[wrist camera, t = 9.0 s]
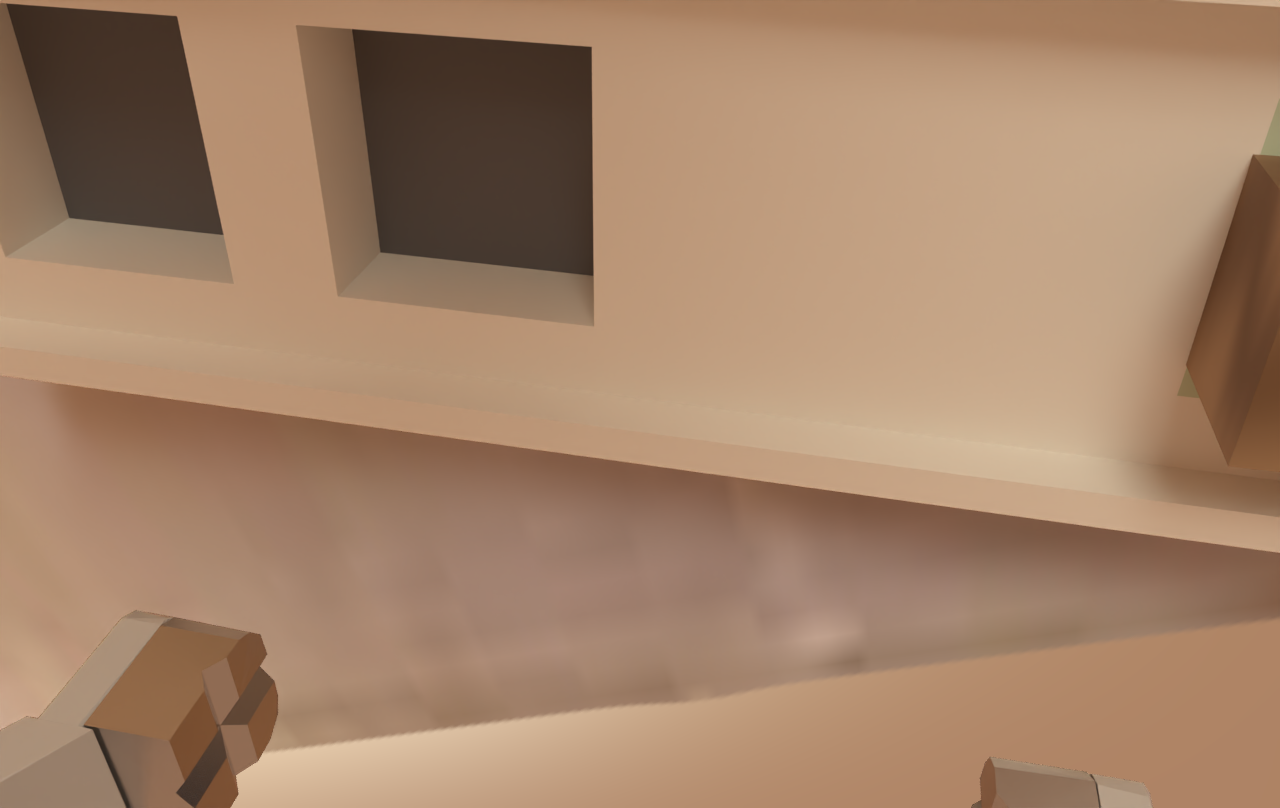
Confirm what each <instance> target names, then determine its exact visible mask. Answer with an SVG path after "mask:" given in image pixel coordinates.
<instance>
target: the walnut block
mask: <svg viewBox="0 0 1280 808" xmlns="http://www.w3.org/2000/svg"><path fill="white" fill-rule="evenodd" d="M1186 367H1187V369H1188V371H1189V374H1190V376H1191V379H1192V381H1193V383H1194V386H1195V388H1196V391H1197V393H1198V395H1199V398H1200V400H1201V403H1202V405H1203V407H1204V410H1205V412H1206V415H1207V417H1208V419H1209V422H1210V424H1211V427H1212V429H1213V431H1214V434H1215V436H1216V439H1217V441H1218V443H1219V446H1220V448H1221V451H1222V453H1223V455H1224V458H1225V460H1226V463H1227V465H1228V466H1229V467H1237V468H1246V469H1255V470H1264V471H1273V472H1280V156H1271V155H1255V154H1253V156H1252V159H1251V162H1250V166H1249V169H1248V172H1247V175H1246V178H1245V181H1244V184H1243V188H1242V191H1241V194H1240V197H1239V200H1238V203H1237V206H1236V209H1235V213H1234V216H1233V219H1232V222H1231V225H1230V228H1229V231H1228V235H1227V238H1226V241H1225V244H1224V247H1223V250H1222V253H1221V256H1220V260H1219V263H1218V266H1217V269H1216V272H1215V275H1214V278H1213V281H1212V285H1211V288H1210V291H1209V294H1208V297H1207V300H1206V303H1205V307H1204V310H1203V313H1202V316H1201V319H1200V322H1199V325H1198V328H1197V332H1196V335H1195V338H1194V341H1193V344H1192V347H1191V350H1190V354H1189V357H1188V360H1187V363H1186Z"/></svg>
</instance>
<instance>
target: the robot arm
mask: <svg viewBox="0 0 1280 808" xmlns="http://www.w3.org/2000/svg"><path fill="white" fill-rule="evenodd" d="M266 655H267V653H266V650H265V647H264V644H263V641H262V638H261V635H260V634H255V633H251V632H246V631H241V630H236V629H231V628H226V627H221V626H216V625H211V624H206V623H201V622H196V621H191V620H186V619H181V618H176V617H170V616H165V615H159V614H154V613H148V612H143V611H137V610H135V611H133V612H132V613H130V614H128V615H126V616H125V617H123V618H121V619H120V620H119V621H118V623H117V624H116V625H115V626H114V627H113V629H112V630H111V631H110V632H109V633H108V635H107V636H106V637H105V638H104V639H103V641H102V642H101V643H100V644H99V646H98V647H97V648H96V649H95V650H94V652H93V653H92V654H91V655H90V656H89V658H88V659H87V660H86V661H85V662H84V664H83V665H82V666H81V667H80V668H79V670H78V671H77V672H76V673H75V674H74V676H73V677H72V678H71V679H70V680H69V682H68V683H67V684H66V685H65V686H64V688H63V689H62V690H61V691H60V692H59V694H58V695H57V696H56V697H55V698H54V700H53V701H52V702H51V703H50V704H49V706H48V707H47V708H46V709H45V710H44V712H43V713H42V714H41V715H40V716H39V718H34V717H28V716H26V717H24V718H22V719H21V720H19V721H17V722H15V723H13V724H11V725H9V726H7V727H5V728H3V729H2V730H0V808H230V807H231V806H232V804H233V802H234V801H235V799H236V797H237V796H238V788H237V782H236V775H237V774H238V773H240V772H241V771H243V770H245V769H246V768H248V767H249V766H251V765H252V764H254V763H256V762H257V761H258V760H259V758H260V757H261V755H262V753H263V751H264V750H265V748H266V746H267V744H268V743H269V741H270V739H271V735H272V732H273V728H274V725H275V722H276V718H277V715H278V694H277V690H276V686H275V682H274V680H273V679H272V678H271V677H270V676H269V675H268V674H267V673H266V672H265V671H264V670H263V669H262V668H261V667H260V665H261V663H262V662H263V660H264V659H265V657H266ZM980 786H981V800H980V801H978V802H977V803H975V804H973V805H972V807H971V808H1153V805H1152V800H1151V796H1150V792H1149V791H1148V789H1147V788H1146V786H1145V785H1144V784H1143V783H1142V782H1137V781H1131V780H1125V779H1119V778H1113V777H1107V776H1101V775H1095V774H1088V773H1087V772H1084V771H1078V770H1071V769H1064V768H1059V767H1052V766H1046V765H1039V764H1033V763H1027V762H1020V761H1013V760H1007V759H1001V758H995V757H989V759H988V760H987V761H986V762H985V765H984V768H983V771H982V774H981V777H980Z"/></svg>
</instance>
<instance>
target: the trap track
mask: <svg viewBox="0 0 1280 808" xmlns="http://www.w3.org/2000/svg"><path fill="white" fill-rule="evenodd" d="M1253 154H1255V155H1271V156H1280V0H0V376H8V377H15V378H22V379H29V380H36V381H44V382H51V383H58V384H65V385H72V386H80V387H87V388H94V389H101V390H109V391H116V392H123V393H130V394H137V395H145V396H152V397H159V398H166V399H173V400H181V401H188V402H195V403H202V404H210V405H217V406H224V407H231V408H238V409H246V410H253V411H260V412H267V413H274V414H282V415H289V416H296V417H303V418H311V419H318V420H325V421H332V422H339V423H347V424H354V425H361V426H368V427H375V428H383V429H390V430H397V431H404V432H412V433H419V434H426V435H433V436H440V437H448V438H455V439H462V440H469V441H476V442H484V443H491V444H498V445H505V446H513V447H520V448H527V449H534V450H541V451H549V452H556V453H563V454H570V455H578V456H585V457H592V458H599V459H606V460H614V461H621V462H628V463H635V464H642V465H650V466H657V467H664V468H671V469H679V470H686V471H693V472H700V473H707V474H715V475H722V476H729V477H736V478H743V479H751V480H758V481H765V482H772V483H780V484H787V485H794V486H801V487H808V488H816V489H823V490H830V491H837V492H844V493H852V494H859V495H866V496H873V497H881V498H888V499H895V500H902V501H909V502H917V503H924V504H931V505H938V506H945V507H953V508H960V509H967V510H974V511H982V512H989V513H996V514H1003V515H1010V516H1018V517H1025V518H1032V519H1039V520H1047V521H1054V522H1061V523H1068V524H1075V525H1083V526H1090V527H1097V528H1104V529H1111V530H1119V531H1126V532H1133V533H1140V534H1148V535H1155V536H1162V537H1169V538H1176V539H1184V540H1191V541H1198V542H1205V543H1212V544H1220V545H1227V546H1234V547H1241V548H1249V549H1256V550H1263V551H1270V552H1277V553H1280V472H1273V471H1264V470H1255V469H1246V468H1237V467H1229V466H1228V465H1227V463H1226V460H1225V458H1224V455H1223V453H1222V451H1221V448H1220V446H1219V443H1218V441H1217V439H1216V436H1215V434H1214V431H1213V429H1212V427H1211V424H1210V422H1209V419H1208V417H1207V415H1206V412H1205V410H1204V407H1203V405H1202V403H1201V400H1200V398H1199V395H1198V393H1197V391H1196V388H1195V386H1194V383H1193V381H1192V379H1191V376H1190V374H1189V371H1188V369H1187V367H1186V363H1187V360H1188V357H1189V354H1190V350H1191V347H1192V344H1193V341H1194V338H1195V335H1196V332H1197V328H1198V325H1199V322H1200V319H1201V316H1202V313H1203V310H1204V307H1205V303H1206V300H1207V297H1208V294H1209V291H1210V288H1211V285H1212V281H1213V278H1214V275H1215V272H1216V269H1217V266H1218V263H1219V260H1220V256H1221V253H1222V250H1223V247H1224V244H1225V241H1226V238H1227V235H1228V231H1229V228H1230V225H1231V222H1232V219H1233V216H1234V213H1235V209H1236V206H1237V203H1238V200H1239V197H1240V194H1241V191H1242V188H1243V184H1244V181H1245V178H1246V175H1247V172H1248V169H1249V166H1250V162H1251V159H1252V156H1253Z"/></svg>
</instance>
